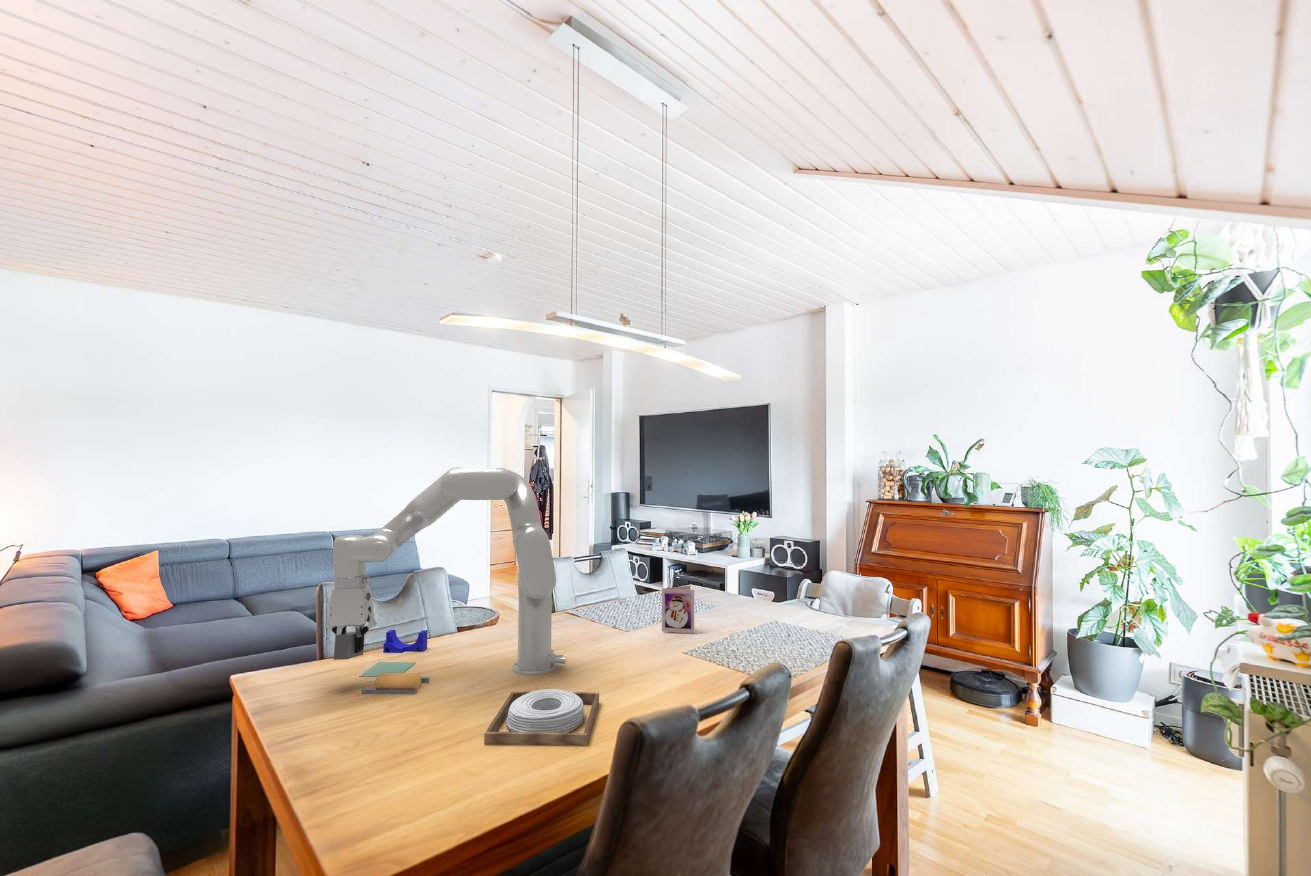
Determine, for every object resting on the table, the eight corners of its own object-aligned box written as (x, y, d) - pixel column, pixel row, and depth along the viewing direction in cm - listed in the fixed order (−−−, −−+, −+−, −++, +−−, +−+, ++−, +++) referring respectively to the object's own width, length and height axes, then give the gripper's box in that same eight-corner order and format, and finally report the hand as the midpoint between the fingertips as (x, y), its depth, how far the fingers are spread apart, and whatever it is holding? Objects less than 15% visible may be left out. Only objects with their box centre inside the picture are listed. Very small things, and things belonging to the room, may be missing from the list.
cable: (547, 754, 120) (547, 725, 121) (488, 733, 130) (489, 705, 130) (598, 721, 135) (598, 695, 136) (542, 704, 145) (543, 680, 145)
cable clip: (383, 653, 181) (383, 633, 181) (390, 648, 186) (391, 629, 186) (420, 654, 180) (420, 634, 181) (427, 649, 185) (427, 630, 185)
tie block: (363, 654, 156) (364, 631, 157) (347, 659, 148) (348, 634, 150) (350, 654, 156) (352, 631, 157) (333, 659, 148) (335, 635, 150)
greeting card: (661, 632, 203) (661, 589, 203) (664, 626, 210) (664, 584, 210) (694, 634, 201) (694, 590, 201) (696, 627, 208) (696, 585, 209)
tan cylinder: (422, 682, 155) (419, 669, 153) (415, 696, 151) (412, 682, 149) (385, 682, 155) (382, 669, 154) (377, 695, 151) (374, 682, 149)
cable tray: (599, 706, 143) (599, 692, 143) (586, 751, 121) (586, 734, 121) (511, 705, 143) (512, 691, 143) (484, 750, 122) (484, 733, 122)
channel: (429, 682, 157) (429, 677, 157) (415, 696, 148) (415, 690, 148) (378, 682, 158) (378, 676, 158) (361, 695, 149) (361, 689, 149)
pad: (415, 663, 172) (415, 662, 172) (398, 678, 161) (398, 676, 161) (378, 663, 172) (378, 661, 172) (359, 677, 161) (359, 676, 161)
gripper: (387, 578, 158) (389, 646, 157) (328, 579, 158) (329, 647, 158) (373, 584, 150) (375, 656, 150) (311, 586, 151) (312, 657, 150)
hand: (351, 650), depth 154 cm, fingers closed on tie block, 3 cm apart
